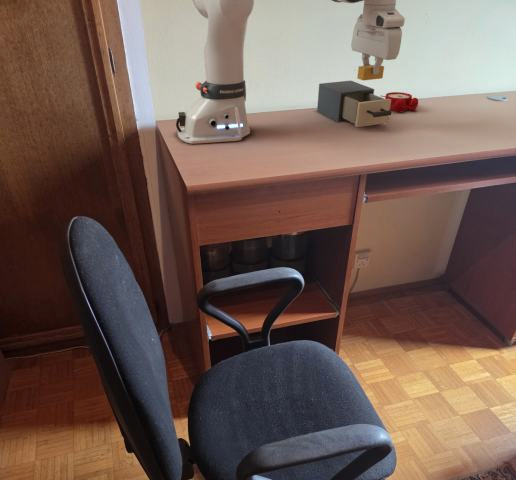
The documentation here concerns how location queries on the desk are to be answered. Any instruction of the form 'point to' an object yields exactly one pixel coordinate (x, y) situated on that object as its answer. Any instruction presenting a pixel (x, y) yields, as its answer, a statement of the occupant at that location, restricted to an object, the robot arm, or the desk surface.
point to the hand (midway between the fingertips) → (370, 72)
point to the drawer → (365, 109)
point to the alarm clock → (401, 101)
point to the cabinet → (337, 97)
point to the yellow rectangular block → (369, 73)
